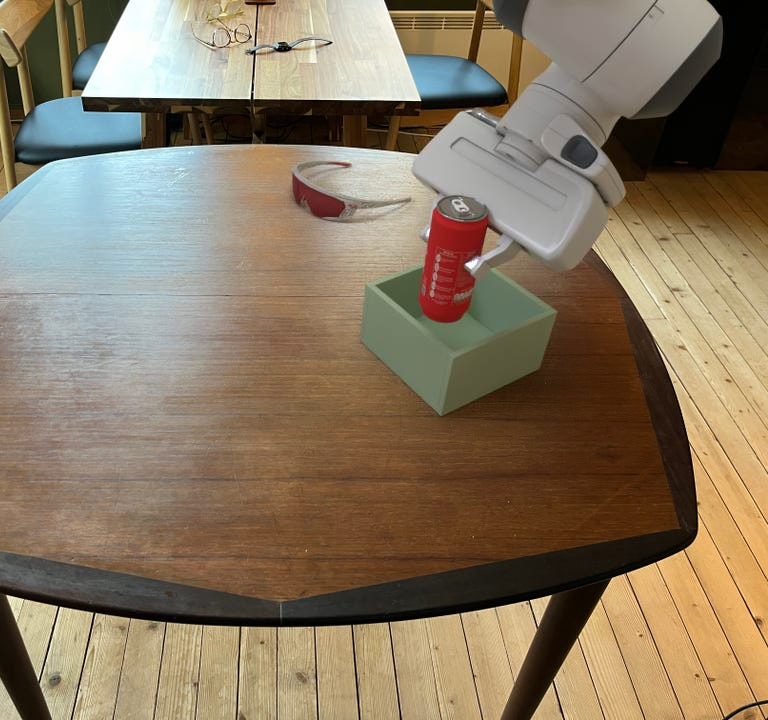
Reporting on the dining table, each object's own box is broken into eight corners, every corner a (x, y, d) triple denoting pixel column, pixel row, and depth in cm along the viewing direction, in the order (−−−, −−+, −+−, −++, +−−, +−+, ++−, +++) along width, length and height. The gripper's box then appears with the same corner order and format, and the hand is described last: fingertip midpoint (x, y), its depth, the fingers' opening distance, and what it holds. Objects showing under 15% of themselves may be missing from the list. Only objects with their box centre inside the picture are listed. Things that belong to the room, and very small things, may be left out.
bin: (539, 369, 89) (558, 311, 83) (441, 416, 83) (453, 358, 77) (453, 302, 99) (464, 246, 93) (359, 340, 93) (365, 283, 87)
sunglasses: (268, 189, 121) (272, 160, 118) (343, 178, 131) (349, 150, 128) (335, 234, 111) (342, 204, 108) (412, 218, 121) (420, 189, 118)
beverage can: (428, 328, 74) (447, 225, 66) (409, 298, 77) (425, 196, 69) (476, 321, 74) (500, 218, 66) (455, 291, 78) (476, 190, 70)
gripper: (455, 84, 73) (367, 197, 75) (623, 168, 60) (511, 301, 63) (480, 118, 77) (397, 223, 80) (641, 202, 65) (536, 325, 67)
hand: (448, 258), depth 71 cm, fingers closed on beverage can, 5 cm apart
